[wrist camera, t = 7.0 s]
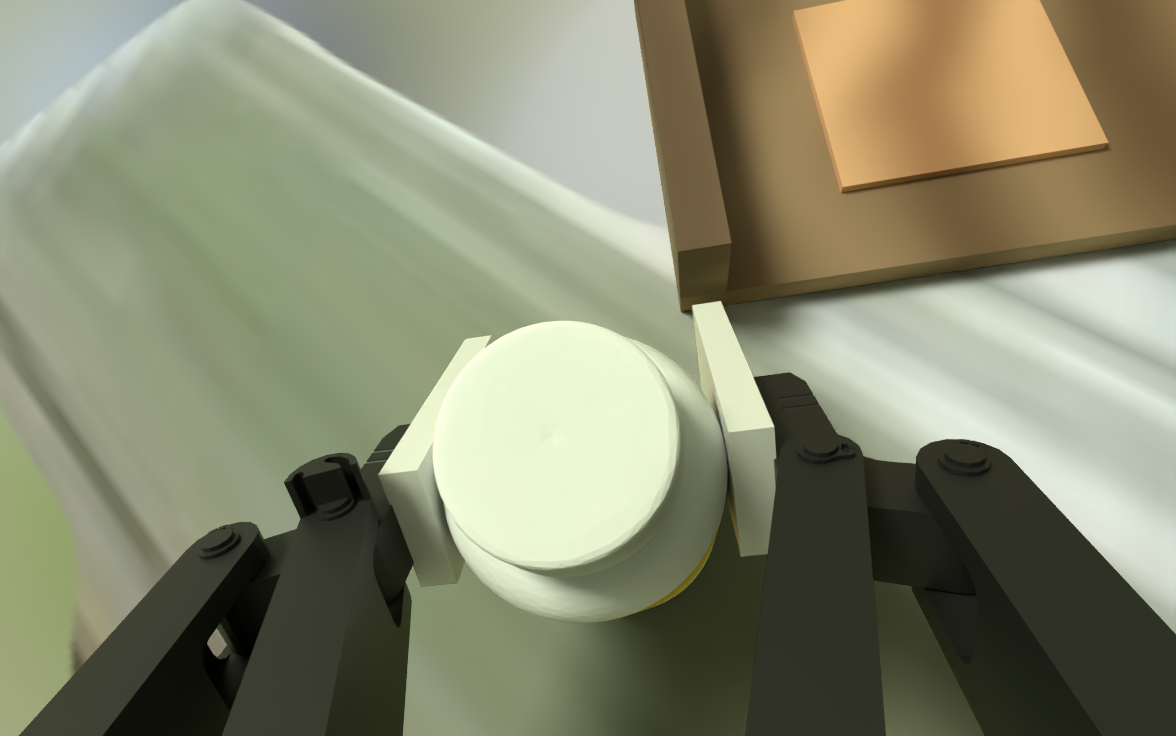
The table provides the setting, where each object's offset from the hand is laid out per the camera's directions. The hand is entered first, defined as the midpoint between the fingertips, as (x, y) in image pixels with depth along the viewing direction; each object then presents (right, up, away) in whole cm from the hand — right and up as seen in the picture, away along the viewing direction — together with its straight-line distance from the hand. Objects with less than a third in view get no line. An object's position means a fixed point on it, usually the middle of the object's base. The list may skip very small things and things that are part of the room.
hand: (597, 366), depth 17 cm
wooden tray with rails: (+12, +10, +5) cm, 16 cm away
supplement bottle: (+1, -5, +2) cm, 5 cm away
